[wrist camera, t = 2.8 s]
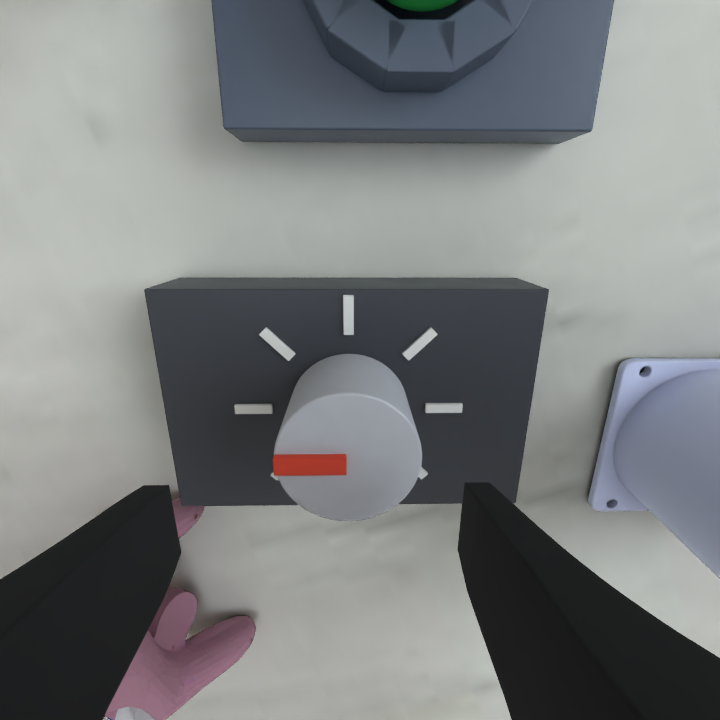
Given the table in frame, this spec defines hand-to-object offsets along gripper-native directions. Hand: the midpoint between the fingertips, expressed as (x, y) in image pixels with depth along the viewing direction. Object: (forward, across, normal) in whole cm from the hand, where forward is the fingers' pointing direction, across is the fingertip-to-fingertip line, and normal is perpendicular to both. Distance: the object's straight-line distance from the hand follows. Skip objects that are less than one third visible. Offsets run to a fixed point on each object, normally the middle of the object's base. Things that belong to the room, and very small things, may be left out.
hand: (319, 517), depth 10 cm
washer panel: (+9, -1, 0) cm, 9 cm away
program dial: (+6, -1, 0) cm, 6 cm away
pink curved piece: (+9, +8, +11) cm, 16 cm away
